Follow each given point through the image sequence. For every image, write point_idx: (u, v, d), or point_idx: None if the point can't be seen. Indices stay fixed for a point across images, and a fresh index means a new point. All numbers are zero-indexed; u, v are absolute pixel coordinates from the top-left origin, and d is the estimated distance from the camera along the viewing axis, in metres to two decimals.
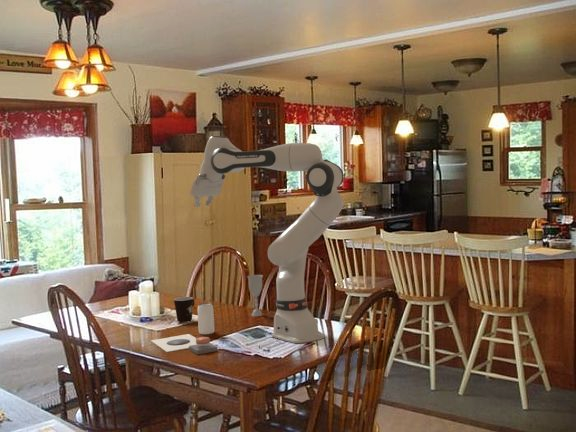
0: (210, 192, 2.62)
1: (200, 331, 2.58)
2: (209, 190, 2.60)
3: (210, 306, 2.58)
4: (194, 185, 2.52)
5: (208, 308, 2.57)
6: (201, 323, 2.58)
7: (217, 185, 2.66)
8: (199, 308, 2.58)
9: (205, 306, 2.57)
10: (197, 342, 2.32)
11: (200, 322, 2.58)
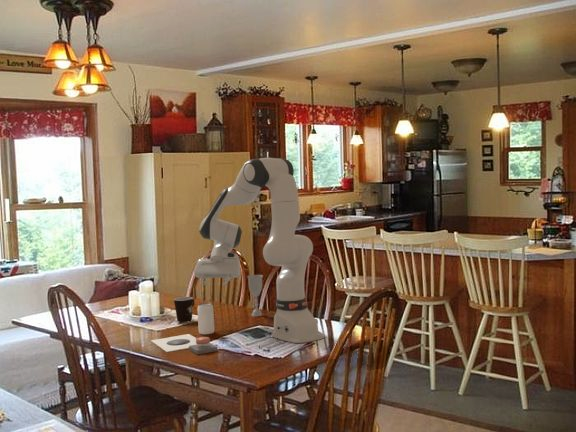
0: (217, 270, 2.74)
1: (200, 331, 2.58)
2: (214, 268, 2.75)
3: (210, 306, 2.58)
4: None
5: (208, 308, 2.57)
6: (201, 323, 2.58)
7: (230, 265, 2.75)
8: (199, 308, 2.58)
9: (205, 306, 2.57)
10: (197, 342, 2.32)
11: (200, 322, 2.58)
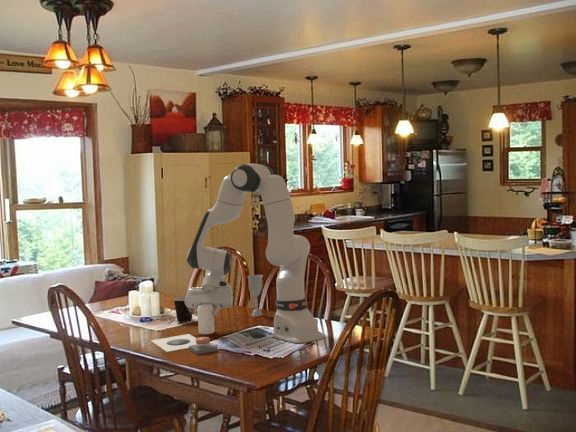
0: (208, 300, 2.62)
1: (200, 331, 2.58)
2: (205, 298, 2.63)
3: (210, 306, 2.58)
4: None
5: (208, 308, 2.57)
6: (201, 323, 2.58)
7: (222, 294, 2.63)
8: (199, 308, 2.58)
9: (205, 306, 2.57)
10: (197, 342, 2.32)
11: (200, 322, 2.58)
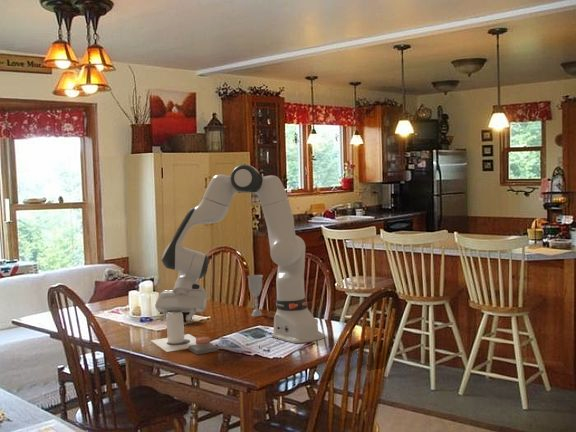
0: (180, 304, 2.48)
1: (169, 340, 2.44)
2: (177, 302, 2.49)
3: (179, 314, 2.44)
4: None
5: (177, 316, 2.43)
6: (170, 332, 2.43)
7: (195, 298, 2.49)
8: (168, 316, 2.44)
9: (174, 314, 2.43)
10: (197, 342, 2.32)
11: (169, 331, 2.44)
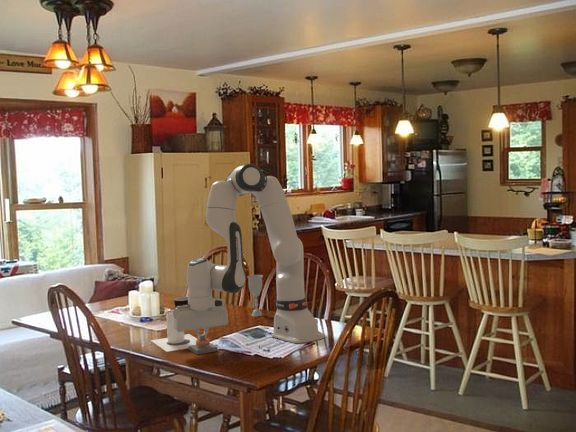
0: (204, 323, 2.33)
1: (169, 340, 2.44)
2: (200, 322, 2.32)
3: None
4: (174, 319, 2.30)
5: None
6: (170, 332, 2.43)
7: (217, 313, 2.35)
8: (168, 316, 2.44)
9: None
10: (197, 344, 2.32)
11: (169, 331, 2.44)
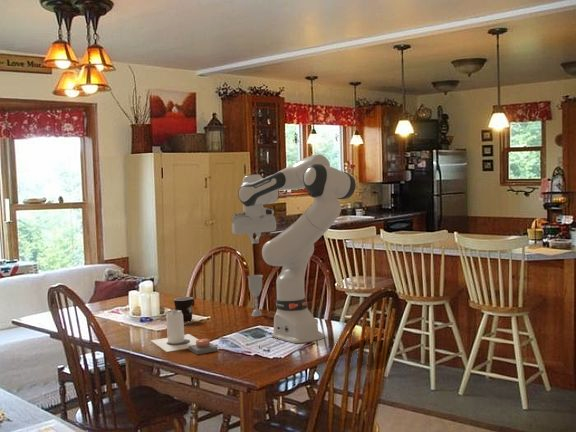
0: (257, 229, 2.75)
1: (169, 340, 2.44)
2: (254, 227, 2.74)
3: (179, 314, 2.44)
4: (232, 224, 2.72)
5: (177, 316, 2.43)
6: (170, 332, 2.43)
7: (267, 221, 2.78)
8: (168, 316, 2.44)
9: (174, 314, 2.43)
10: (197, 344, 2.32)
11: (169, 331, 2.44)
